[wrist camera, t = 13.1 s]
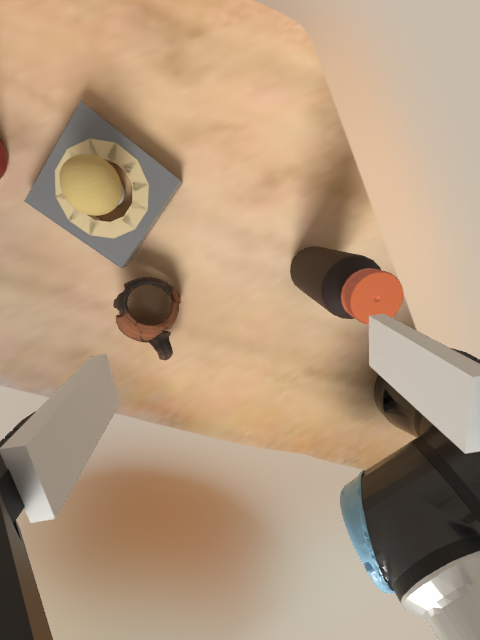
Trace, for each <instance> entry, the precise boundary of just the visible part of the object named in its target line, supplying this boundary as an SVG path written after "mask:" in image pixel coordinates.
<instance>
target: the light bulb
mask: <svg viewBox="0 0 480 640" xmlns="http://www.w3.org/2000/svg"><path fill="white" fill-rule="evenodd" d="M59 177H60V187H61V190H62V193H63V195H64V197H65V199H66V200H67V202H68V203H69V204H70V205H71V206H72V207H73V208H75V209H76V210H78V211H80V212H82V213H84V214H88V215H95V216H98V215H104V214H107V213H109V212H111V211H112V210H114V209H115V208H116V207H117V206H118V205H120V204H121V203H122V202H123V200H124V197H125V190H124V187H123V185H122V184H121V180H120V177H119V175H118V173H117V172H116V170H115V169H114V168H113V166H112V165H111V164H110V163H108V162H107V161H106V160H104V159H102V158H100V157H98V156H95V155H91V154H80V155H76V156H73V157H71V158H69V159H68V160H67V161H66V162H65V163H64V164H63V166H62V168H61V171H60V176H59Z"/></svg>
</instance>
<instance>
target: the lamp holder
mask: <svg viewBox="0 0 480 640" xmlns="http://www.w3.org/2000/svg"><path fill="white" fill-rule="evenodd" d="M80 154H91V155H95V156H98V157H100V158H102V159H104V160H106V161H107V162H108V163H114V164H117V165H118V166H119V167H121V168H122V169H123V170H125V172H126V174H127V176H128V178H129V180H130V182H131V184H132V186H133V190H132V204H131V206H130V207H129V209H128V210H127V212H126V213H125V215H124V216H123V217H120V218H118V219H116V220H114V221H111V222H110V221H102V220H100V219H99V218H98V217H96V216H95V215H88V214H84V213H82V212H80V211H78V210H76V209H75V208H73V207H72V206H71V205H70V204H69V203H68V202H67V200H66V199H65V197H64V195H63V193H62V190H61V187H60V177H59V176H60V171H61V168H62V166H63V164H64V163H65V162H66V161H67V160H68V159H69V158H71V157H73V156H76V155H80ZM181 185H182V182H181V181H180V180H179V179H178V178H177V177H175V176H174V175H173V174H172V173H170V172H169V171H168V170H167V169H165V168H164V167H163V166H162V165H160V164H159V163H158V162H157V161H155V160H154V159H153V158H152V157H150V156H149V155H148V154H147V153H145V152H144V151H143V150H142V149H140V148H139V147H138V146H137V145H135V144H134V143H133V142H132V141H130V140H129V139H128V138H127V137H125V136H124V135H123V134H122V133H120V132H119V131H118V130H117V129H115V128H114V127H113V126H112V125H111V124H109V123H108V122H107V121H106V120H104V119H103V118H102V117H101V116H99V115H98V114H97V113H96V112H94V111H93V110H92V109H91V108H89V107H88V106H87V105H86V104H84V103H83V102H82V101H80V103H79V105H78V107H77V108H76V110H75V112H74V114H73V116H72V117H71V119H70V121H69V123H68V124H67V126H66V128H65V130H64V132H63V133H62V135H61V137H60V139H59V140H58V142H57V144H56V146H55V147H54V149H53V151H52V153H51V155H50V156H49V158H48V160H47V162H46V163H45V165H44V167H43V169H42V171H41V172H40V174H39V176H38V178H37V179H36V181H35V183H34V185H33V187H32V188H31V190H30V192H29V194H28V195H27V197H26V199H25V202H26V203H28V204H29V205H31V206H32V207H33V208H35V209H36V210H38V211H39V212H41V213H42V214H44V215H45V216H46V217H48V218H49V219H51V220H52V221H54V222H55V223H57V224H58V225H59V226H61V227H62V228H64V229H65V230H67V231H68V232H70V233H71V234H73V235H74V236H75V237H77V238H78V239H80V240H81V241H83V242H84V243H86V244H87V245H88V246H90V247H91V248H93V249H94V250H96V251H97V252H99V253H100V254H101V255H103V256H104V257H106V258H107V259H109V260H110V261H112V262H113V263H114V264H116V265H117V266H119V267H120V268H124V267H126V266H127V265H128V264H129V262H130V261H131V259H132V258H133V256H134V255H135V253H136V252H137V250H138V249H139V247H140V246H141V244H142V243H143V241H144V240H145V238H146V237H147V235H148V234H149V232H150V231H151V229H152V228H153V226H154V225H155V223H156V222H157V220H158V219H159V217H160V216H161V214H162V213H163V211H164V210H165V208H166V207H167V205H168V204H169V202H170V201H171V199H172V198H173V196H174V195H175V193H176V192H177V190H178V189H179V188H180V186H181Z"/></svg>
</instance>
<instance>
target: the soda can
mask: <svg viewBox="0 0 480 640" xmlns="http://www.w3.org/2000/svg"><path fill="white" fill-rule="evenodd" d="M7 163H8V158H7V152H6V149H5V147H4V145H3V143H2V141H1V139H0V179H1V178H2V176H3V175H4V173H5V171H6V169H7Z"/></svg>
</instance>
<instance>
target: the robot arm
mask: <svg viewBox="0 0 480 640" xmlns="http://www.w3.org/2000/svg"><path fill="white" fill-rule="evenodd" d="M369 366H370V367H371V368H372V369H373V370H375V371H376V372H377V373H378V374H379V376H378V378H377V381H376V384H375V390H374V396H375V402H376V405H377V407H378V409H379V410H380V412H381V413H382V414H383V415H384V416H385V417H386V419H387V420H388V421H389V422H390V423H392V424H393V425H394V426H396V427H398V428H400V429H402V430H404V431H406V432H408V433H409V434H411V435H413V436H415V437H417V438H416V439H415V440H413V441H411V442H410V443H408V444H407V445H405V446H404V447H402V448H400V449H399V450H397V451H396V452H394V453H393V454H391V455H389V456H388V457H386V458H385V459H383V460H381V461H380V462H378V463H377V464H375V465H374V466H372V467H370V468H369V469H367V470H363V471H362V472H361V473H360V474H359V476H358V477H356V478H355V479H354V480H352V481H351V482H349V483H348V484H347V485H346V486H344V488H343V489H342V491H341V496H340V506H341V511H342V515H343V519H344V522H345V526H346V528H347V531H348V534H349V536H350V539H351V541H352V543H353V546H354V548H355V550H356V552H357V554H358V556H359V558H360V560H361V561H362V562H363V563H364V566H365V568H366V571H367V572H368V574H369V576H370V578H371V579H372V581H373V582H374V583H375V585H376V586H377V587H378V588H379V589H380V590H382V591H383V592H385V593H391V594H392V593H396V595H397V597H398V598H399V601H400V602H401V604H402V606H403V607H404V608H405V609H406V610H408V611H410V612H412V613H414V614H416V615H417V616H419V617H421V618H423V619H424V620H425V621H426V622H428V623H429V625H430V627H431V628H432V630H433V632H434V633H435V635H436V637H437V639H438V640H480V360H479V359H477V358H476V357H474V356H472V355H470V354H468V353H466V352H463V351H459V350H456V349H452V348H448V347H447V346H445V345H443V344H441V343H439V342H437V341H435V340H433V339H431V338H429V337H428V336H426V335H423V334H422V333H420V332H418V331H416V330H414V329H412V328H410V327H408V326H407V325H405V324H403V323H401V322H399V321H397V320H395V319H393V318H391V317H389V316H387V315H385V314H378V315H371V316H369ZM119 404H120V400H119V397H118V393H117V390H116V386H115V382H114V379H113V375H112V372H111V368H110V365H109V361H108V357H107V354H104V355H97V356H91V357H90V358H89V359H88V360H87V361H86V362H85V363H84V364H83V365H82V366H81V367H80V368H79V369H78V370H77V371H76V372H75V373H74V374H73V375H72V376H71V377H70V378H69V379H68V380H67V381H66V382H65V383H64V384H63V385H62V386H61V387H60V388H59V389H58V390H57V391H56V392H55V393H54V394H53V395H52V396H51V397H50V398H49V399H48V400H47V401H46V402H45V403H44V404H43V405H42V406H41V407H40V408H39V409H38V410H37V411H36V412H34V413H32V414H31V415H29V416H28V417H26V418H25V419H23V420H22V421H21V422H20V423H19V424H18V425H17V426H16V427H15V428H14V429H13V431H11V432H10V433H8V434H7V436H5V439H2V440H1V441H0V640H53V638H52V635H51V631H50V628H49V625H48V621H47V618H46V615H45V612H44V608H43V605H42V601H41V598H40V594H39V592H38V588H37V584H36V581H35V578H34V574H33V571H32V568H31V565H30V561H29V558H28V555H27V551H26V548H25V544H24V541H23V538H22V534H21V531H20V528H19V526H18V524H17V522H16V519H17V517H18V516H19V514H20V513H21V512H22V510H23V509H25V511H26V514H27V516H28V518H29V521H30V522H31V523H32V522H38V521H45V520H51V519H55V518H56V517H57V515H58V513H59V511H60V509H61V508H62V506H63V504H64V502H65V501H66V499H67V497H68V495H69V493H70V491H71V490H72V488H73V486H74V484H75V483H76V481H77V479H78V477H79V476H80V474H81V472H82V470H83V468H84V467H85V465H86V463H87V461H88V460H89V458H90V456H91V454H92V452H93V451H94V449H95V447H96V445H97V443H98V441H99V440H100V438H101V436H102V435H103V433H104V431H105V429H106V427H107V426H108V424H109V422H110V420H111V419H112V417H113V415H114V413H115V411H116V410H117V408H118V406H119Z"/></svg>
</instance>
